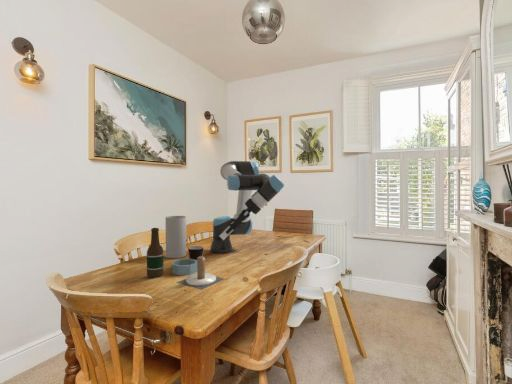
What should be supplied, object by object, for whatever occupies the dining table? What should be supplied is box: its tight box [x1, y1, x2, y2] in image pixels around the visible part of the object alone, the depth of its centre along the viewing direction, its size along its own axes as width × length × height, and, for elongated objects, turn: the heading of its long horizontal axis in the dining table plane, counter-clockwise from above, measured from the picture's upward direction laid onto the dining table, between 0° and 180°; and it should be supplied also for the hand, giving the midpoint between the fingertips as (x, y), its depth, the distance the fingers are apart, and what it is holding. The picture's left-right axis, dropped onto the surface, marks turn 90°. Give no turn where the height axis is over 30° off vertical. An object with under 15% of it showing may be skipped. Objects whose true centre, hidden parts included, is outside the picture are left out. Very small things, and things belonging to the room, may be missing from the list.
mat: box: [175, 276, 225, 291], centre depth 129 cm, size 16×16×1 cm
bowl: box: [171, 258, 197, 276], centre depth 143 cm, size 12×12×5 cm
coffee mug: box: [187, 245, 204, 260], centre depth 156 cm, size 12×9×10 cm
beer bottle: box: [146, 227, 165, 280], centre depth 135 cm, size 8×8×24 cm
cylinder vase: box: [165, 215, 187, 259], centre depth 173 cm, size 12×12×25 cm
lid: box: [185, 256, 217, 286], centre depth 128 cm, size 14×14×11 cm
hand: (223, 235), depth 127 cm, fingers open, 13 cm apart
